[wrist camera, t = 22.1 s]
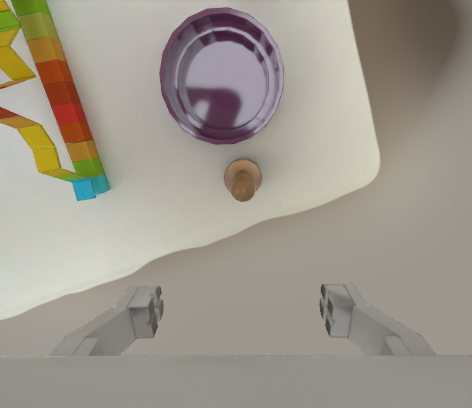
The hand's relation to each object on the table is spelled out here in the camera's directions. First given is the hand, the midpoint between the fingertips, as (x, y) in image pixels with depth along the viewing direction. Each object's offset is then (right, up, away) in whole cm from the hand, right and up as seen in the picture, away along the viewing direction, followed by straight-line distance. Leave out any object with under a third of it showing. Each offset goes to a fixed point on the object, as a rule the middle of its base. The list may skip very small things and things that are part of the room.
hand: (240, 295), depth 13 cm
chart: (-24, +21, +22) cm, 39 cm away
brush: (+1, +9, +26) cm, 27 cm away
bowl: (-2, +20, +21) cm, 30 cm away
